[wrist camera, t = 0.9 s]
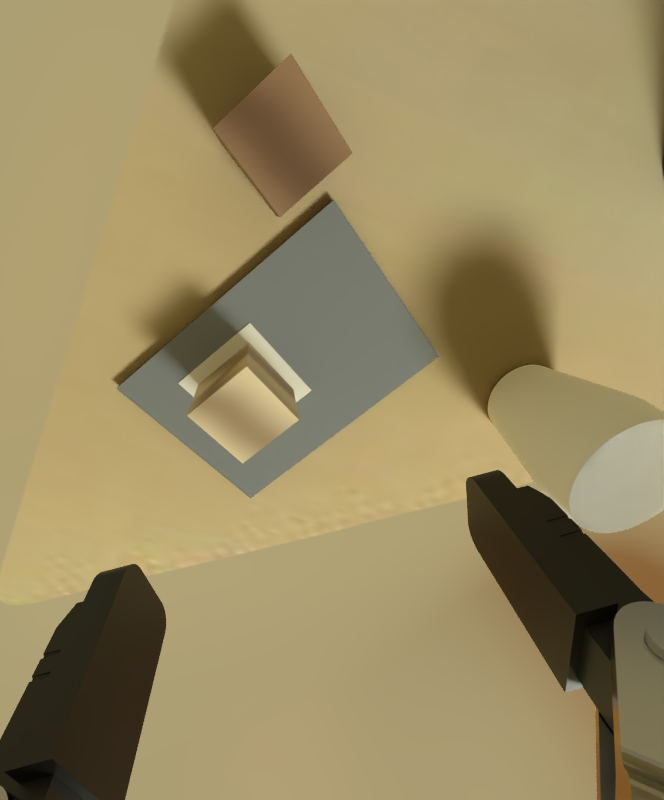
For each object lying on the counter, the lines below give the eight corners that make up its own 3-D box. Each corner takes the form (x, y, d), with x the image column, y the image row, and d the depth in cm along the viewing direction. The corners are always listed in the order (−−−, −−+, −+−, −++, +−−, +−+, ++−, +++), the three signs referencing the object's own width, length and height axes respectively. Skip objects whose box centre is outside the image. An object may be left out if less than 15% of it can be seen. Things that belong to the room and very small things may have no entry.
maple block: (249, 342, 28) (246, 366, 24) (293, 389, 31) (299, 420, 26) (198, 384, 29) (187, 415, 25) (245, 427, 31) (242, 463, 27)
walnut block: (285, 83, 23) (291, 53, 19) (336, 163, 25) (352, 153, 21) (221, 143, 24) (212, 128, 19) (276, 216, 26) (279, 217, 21)
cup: (454, 405, 34) (540, 493, 24) (535, 329, 32) (670, 387, 22) (509, 458, 38) (605, 554, 27) (585, 392, 36) (721, 468, 25)
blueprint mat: (332, 200, 26) (334, 200, 25) (435, 353, 32) (439, 356, 31) (119, 385, 29) (116, 389, 28) (250, 493, 35) (250, 498, 34)
